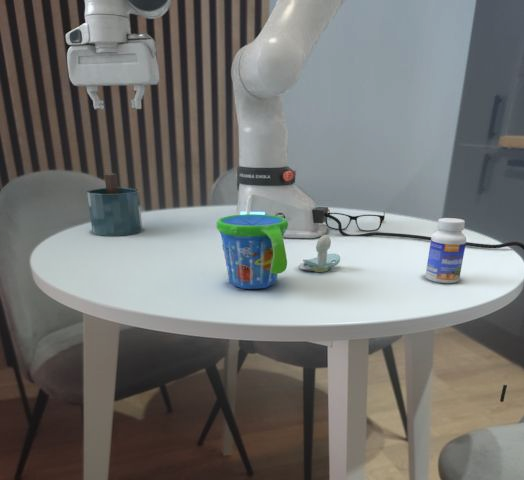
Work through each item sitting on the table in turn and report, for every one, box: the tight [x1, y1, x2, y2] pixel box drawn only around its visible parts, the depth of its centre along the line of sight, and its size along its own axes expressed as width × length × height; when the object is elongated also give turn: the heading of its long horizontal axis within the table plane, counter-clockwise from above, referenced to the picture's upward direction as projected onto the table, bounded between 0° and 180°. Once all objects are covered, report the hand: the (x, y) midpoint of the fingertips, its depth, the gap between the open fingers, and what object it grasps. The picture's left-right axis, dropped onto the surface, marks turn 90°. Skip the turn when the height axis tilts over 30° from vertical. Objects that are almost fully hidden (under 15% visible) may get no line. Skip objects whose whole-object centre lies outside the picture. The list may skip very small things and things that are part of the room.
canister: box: [86, 187, 143, 237], centre depth 114 cm, size 11×11×9 cm
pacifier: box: [298, 234, 341, 273], centre depth 86 cm, size 7×6×6 cm
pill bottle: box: [425, 217, 467, 284], centre depth 81 cm, size 5×5×10 cm
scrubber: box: [104, 173, 119, 194], centre depth 113 cm, size 4×4×12 cm
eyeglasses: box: [324, 208, 386, 233], centre depth 123 cm, size 14×14×4 cm
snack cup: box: [216, 214, 288, 290], centre depth 77 cm, size 16×10×10 cm
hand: (117, 109), depth 109 cm, fingers open, 8 cm apart
